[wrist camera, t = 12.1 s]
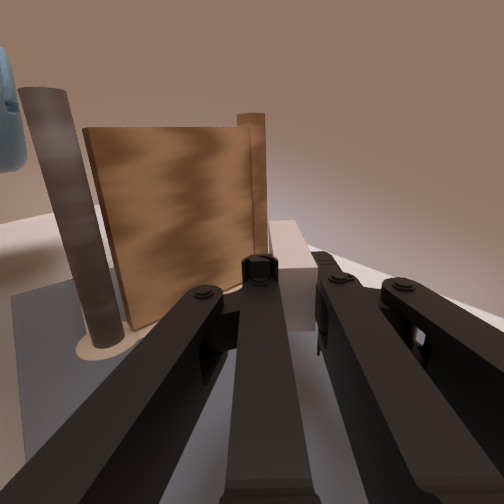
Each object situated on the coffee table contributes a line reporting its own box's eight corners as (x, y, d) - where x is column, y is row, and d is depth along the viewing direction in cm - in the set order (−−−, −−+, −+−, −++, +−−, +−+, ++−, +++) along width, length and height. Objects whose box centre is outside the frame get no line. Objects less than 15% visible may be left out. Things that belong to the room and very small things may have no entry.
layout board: (12, 301, 26) (10, 295, 26) (215, 242, 39) (214, 238, 39) (84, 1021, 4) (74, 1021, 4) (485, 356, 17) (487, 348, 17)
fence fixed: (129, 347, 19) (67, 88, 14) (97, 360, 18) (15, 85, 13) (99, 276, 30) (58, 115, 25) (78, 281, 29) (30, 115, 24)
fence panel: (134, 331, 20) (83, 105, 15) (126, 322, 21) (76, 109, 16) (268, 271, 28) (264, 113, 23) (257, 267, 29) (251, 115, 24)
